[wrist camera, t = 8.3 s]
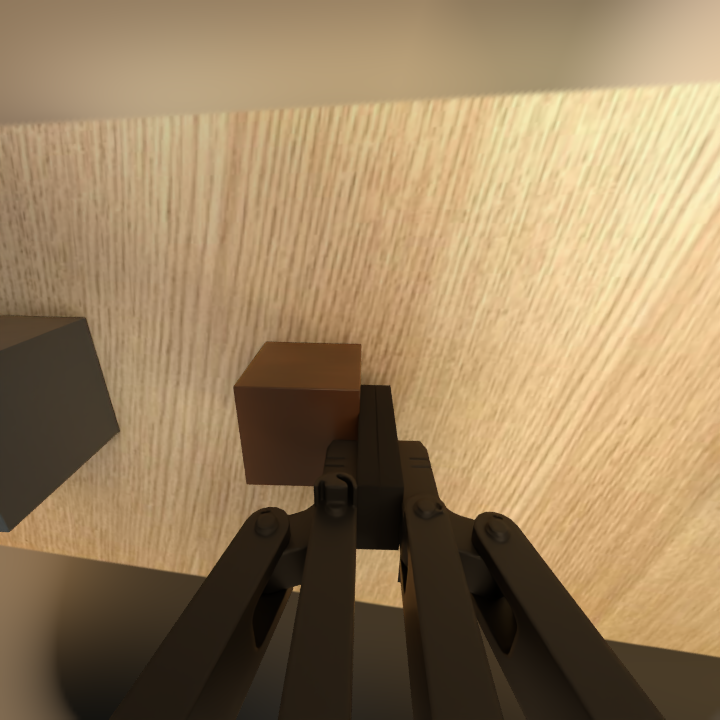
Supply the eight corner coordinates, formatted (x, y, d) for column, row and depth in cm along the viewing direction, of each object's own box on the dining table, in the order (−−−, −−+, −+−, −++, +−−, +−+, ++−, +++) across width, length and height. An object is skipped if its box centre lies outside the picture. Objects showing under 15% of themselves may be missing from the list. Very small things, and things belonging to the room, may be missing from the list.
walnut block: (361, 343, 18) (360, 389, 14) (359, 424, 20) (357, 487, 16) (265, 341, 18) (232, 386, 14) (273, 421, 20) (246, 484, 16)
